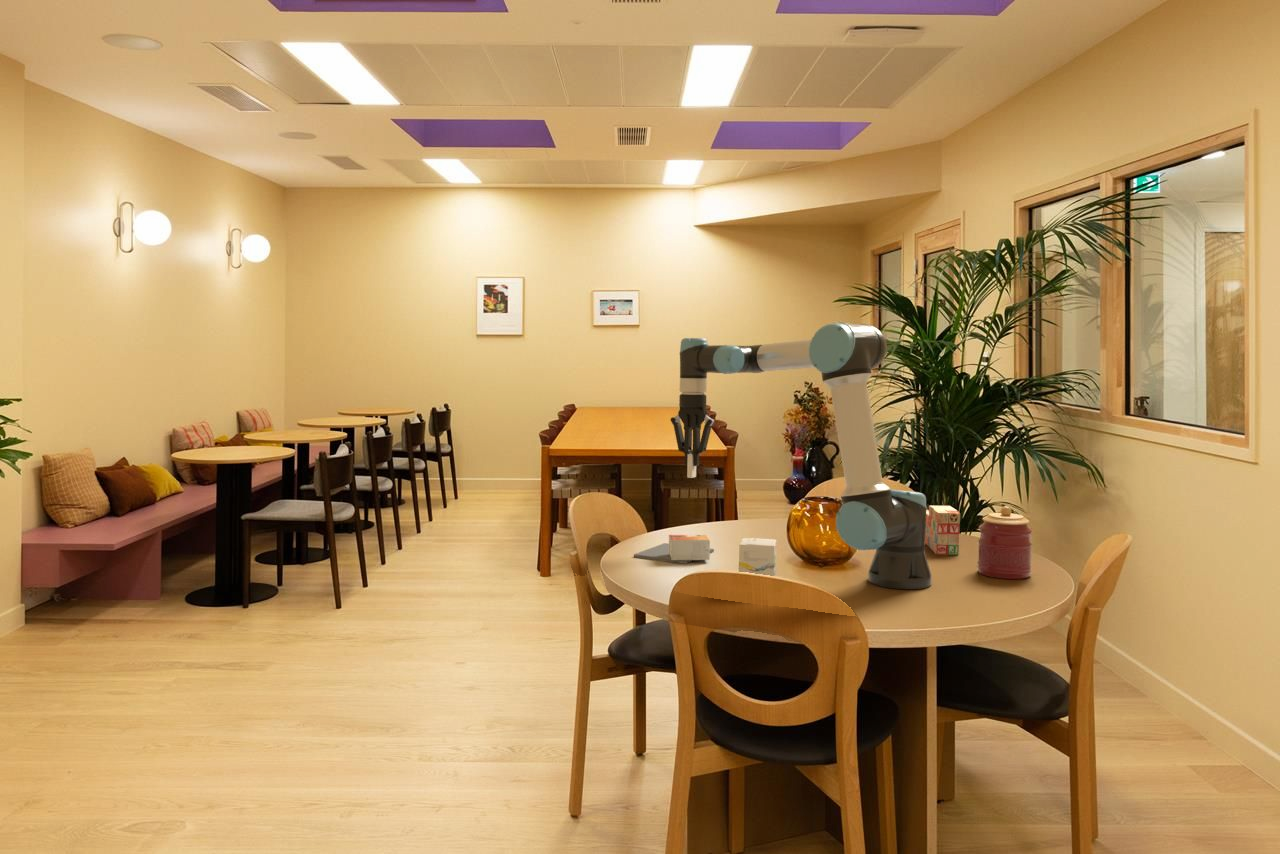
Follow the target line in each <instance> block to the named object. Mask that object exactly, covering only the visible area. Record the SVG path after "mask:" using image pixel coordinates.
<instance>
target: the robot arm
mask: <svg viewBox="0 0 1280 854" xmlns="http://www.w3.org/2000/svg"><path fill="white" fill-rule="evenodd" d="M887 346H888V345H887V341H886V338H885V336H884V334H883V333H882V332H881V330H879V329H878V328H876V327H875V326H873V325H870V324H866V323H860V324H858V323H848V322H847V323H846V322H835V323H828V324H826V325H823V326H821V327H820V328H819V329H818V330H816V332H814V335H813V336H812V337H811V338H810V339H802V340H792V341H783V342H773V343H764V344H755V345H732V344H724V345H720V344H719V345H709V344H708V339H706V338H705V337H702V338H701V337H698V338H697V337H696V338H695V337H685V338H684V337H683V338H682V339H681V341H680V348H679V349H680V350H679V393H681V394H680V395H679V400H678V401H679V403H678V404H679V405H678V406H679V410H678V412H677V415H675V416H674V417H673V416H672V417H671V418H670V422H671V424H672V425H673V430H674V434H675V440H676V444H677V445H676V446H677V448H678V452H681V453H684V466H687V470H686V471H687V472H686V473H687V474H686V477H687V478H688V479H693V478H697V466H700V465H699V464H700V455H701V453H702V454H703V453H706V450H707V447H708V444H709V443H708V442H709V440H710V434H711V431H712V428H713V426H714V424H715V422H716V420H715V419H714V418H711V417H710V416H708V412H707V394H705V393H706V392H707V384H708V383H707V382H708V381H707V379H708V378H707V377H708V373H713V374H715V373H716V374H724V375H727V374H729V375H731V374H741V373H742V374H743V373H745V374H746V373H748V374H749V373H750V374H751V373H752V374H759V373H764V372H775V371H787V370H801V369H811V368H812V369H815V368H816V370H817V371H819V372H820V373H821V378H822V384H824V385H825V386H826V387H828V388H829V390H830V395H831V400H832V407H833V412H834V413H833V414H834V420H835V425H836V433H837V439H838V446H839V450H840V451H839V452H840V457H841V462H842V463H841V464H842V470H843V476H844V477H843V478H844V483H845V489H844V490H843V491H842V492H841V494H840V497H841V499H840V500H841V507H840V508H839V509H838V512H837V513H836V516H835V527H836V530H837V533H838V535H839V537H840V538H841V540H843V542H844V543H846V545H848V547H851V548H852V549H855V550H857V551H870V550H873V551H875V553H874V556H873V558H872V561H871V564H870V567H869V570H868V577H867V580H868V582H869V583H871V584H872V585H875V586H878V587H882V588H883V587H884V588H887V589H888V588H889V589H896V590H897V589H898V590H899V589H900V590H920V589H926V588H929V587H931V585H932V580H933V579H932V578H933V577H932V576H933V575H932V572H931V570H930V565H929V562H928V559H927V555H926V543H925V533H926V511H928V506H927V498H926V495H925V494H924V493H922V492H918V491H911V490H910V491H908V490H901V489H893V488H891V487H889V486H888V485H887V484H885V482H883V476H882V470H881V463H880V459H879V457H880V456H879V452H878V451H879V450H878V444H877V439H876V432H875V428H874V421H873V420H874V419H873V416H872V415H873V413H872V409H871V402H870V396H869V390H868V389H869V388H868V381H869V380H870V379H871V377H872V370H874V369H876V368H877V367H878V366H879V365H880V364H882V363H883V361H884V359H885V357H886V354H887V351H888V347H887ZM681 422H682V423H683V426H682V423H681ZM703 423H704V426H703V430H702V434H701V429H702V424H703ZM683 430H684V432H683Z"/></svg>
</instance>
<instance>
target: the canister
mask: <svg viewBox="0 0 1280 854" xmlns="http://www.w3.org/2000/svg"><path fill="white" fill-rule="evenodd" d="M982 521H983V523H982V524H980V525H979V526H978V529H979V531H980V537H979V538H978V539H977V541H978V556H977V557H978V559H977V560H978V561H977V566H976V567H977V570H978V573H979V574H981V575H984V576H986V577H991V578H995V579H996V578H997V579H1004V580H1021V579H1027V578H1029V577H1031V576H1030V575H1031V572H1032V566H1031V564H1032V563H1031V562H1032V561H1031V559H1032V546H1033V542H1032V541H1031V534H1033V532H1034V531H1033V529H1032V528H1031V527H1029V524H1030V520H1029V519H1027V518H1026V517H1024V515H1021V514H1019V513H1018V514H1017V513H1012V508H1011V507H1009V506H1008V505H1007V506H1006V505H1005V506H1002V507H1001V509H1000V512H990V513H988V514H987V515H985V516H983V517H982Z"/></svg>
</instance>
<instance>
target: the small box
mask: <svg viewBox="0 0 1280 854" xmlns="http://www.w3.org/2000/svg"><path fill="white" fill-rule="evenodd" d="M710 543H711V540H710V539H709V537H708V536H707V534H668V544H669V555H670V557H671V560H693V561H710V557H711V555H710V554H711V553H710V549H711V548H710V547H711V545H710Z"/></svg>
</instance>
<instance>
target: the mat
mask: <svg viewBox="0 0 1280 854" xmlns="http://www.w3.org/2000/svg"><path fill="white" fill-rule="evenodd" d="M711 552H712V553H714V552H715V549H714V548H710V554H712V553H711ZM633 558H638V559H644V560H652V559H653V561H659V560H661V561H662V562H667V561H669V562H668V563H675V562H680V563H679V564H683V563H686V564H688V563H687V562H689V561H691V560H671V557H670V555H669V542H668V543H667V542H666V543H665V542H664V543H662V544H659V545H656V546H653V547H651V548H647V549H645V550H641V551H640V552H639V551H638V552H637V553H634V554H633ZM661 561H660V562H661ZM681 562H682V563H681ZM691 562H692V561H691ZM689 563H690V562H689Z"/></svg>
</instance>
